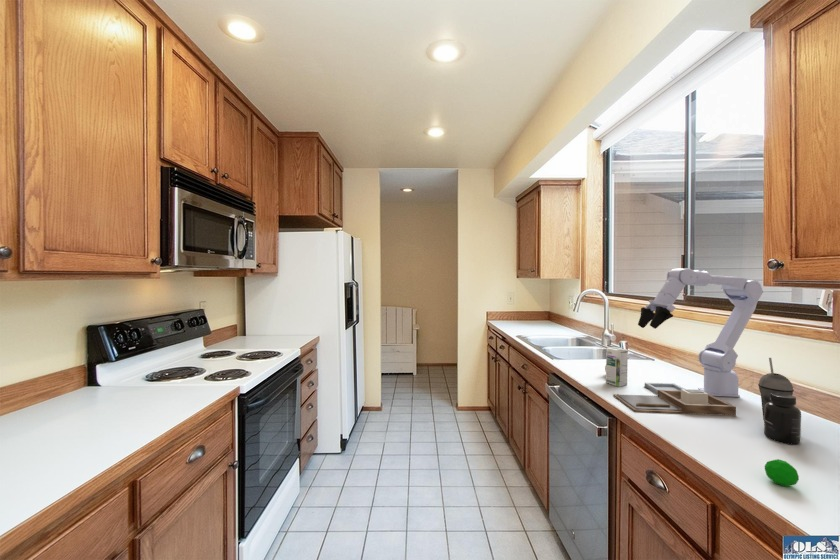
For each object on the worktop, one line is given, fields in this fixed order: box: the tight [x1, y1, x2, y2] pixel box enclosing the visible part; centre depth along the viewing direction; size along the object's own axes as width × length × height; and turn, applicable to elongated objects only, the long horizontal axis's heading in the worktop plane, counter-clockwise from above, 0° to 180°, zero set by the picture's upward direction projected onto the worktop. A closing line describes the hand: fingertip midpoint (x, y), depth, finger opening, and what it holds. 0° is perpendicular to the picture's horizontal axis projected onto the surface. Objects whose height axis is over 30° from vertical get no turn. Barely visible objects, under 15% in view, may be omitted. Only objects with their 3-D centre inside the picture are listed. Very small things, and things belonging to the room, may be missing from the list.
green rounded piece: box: [764, 458, 800, 487], centre depth 74 cm, size 5×5×5 cm
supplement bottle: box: [763, 392, 802, 446], centre depth 94 cm, size 7×7×12 cm
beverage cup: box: [758, 357, 794, 421], centre depth 101 cm, size 7×7×20 cm
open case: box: [613, 390, 737, 417], centre depth 119 cm, size 30×15×3 cm, turn 85°
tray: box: [644, 382, 685, 395], centre depth 132 cm, size 11×11×2 cm
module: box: [680, 388, 708, 404], centre depth 118 cm, size 6×4×5 cm, turn 85°
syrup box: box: [605, 346, 629, 387], centre depth 142 cm, size 6×6×14 cm
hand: (646, 326), depth 128 cm, fingers open, 7 cm apart
